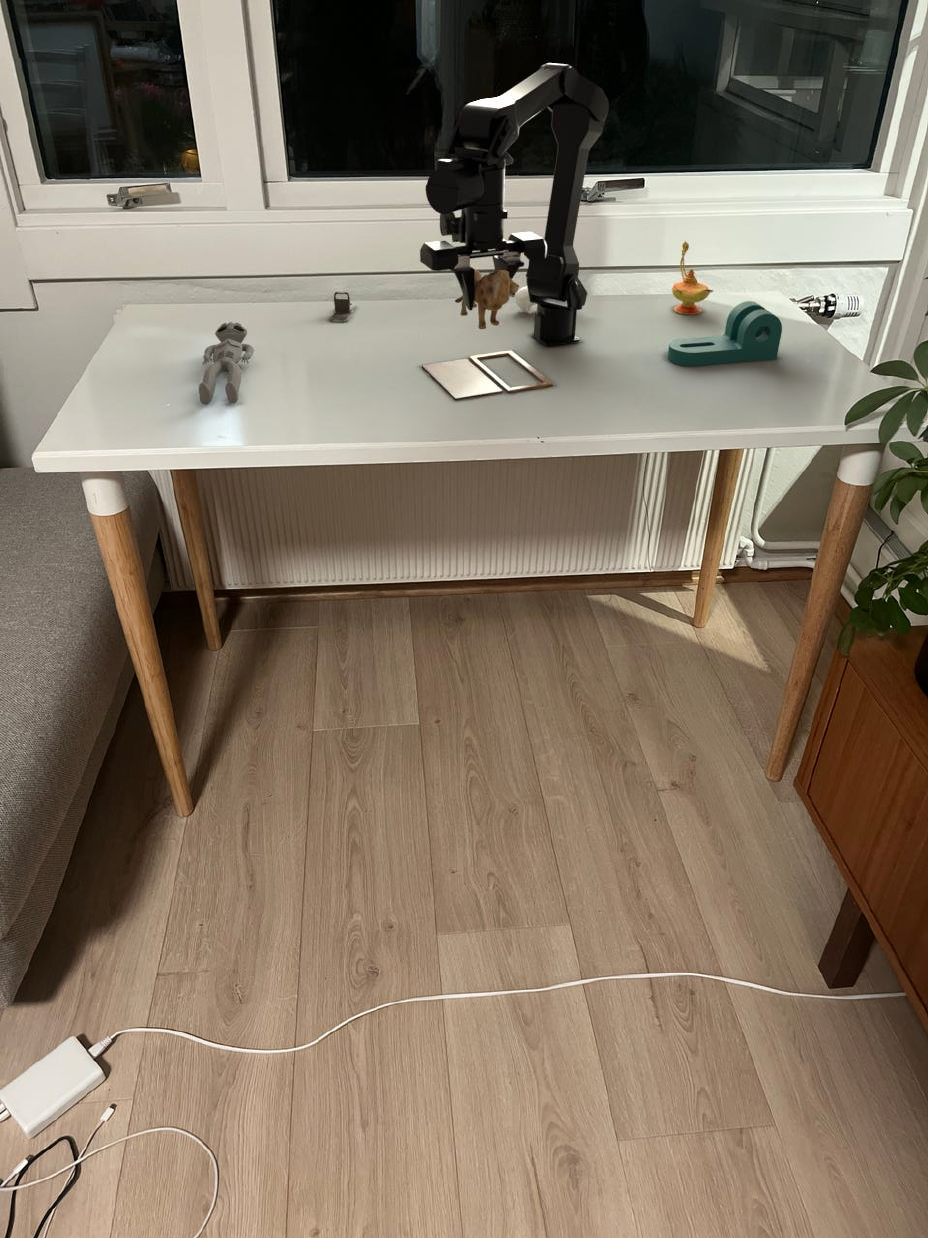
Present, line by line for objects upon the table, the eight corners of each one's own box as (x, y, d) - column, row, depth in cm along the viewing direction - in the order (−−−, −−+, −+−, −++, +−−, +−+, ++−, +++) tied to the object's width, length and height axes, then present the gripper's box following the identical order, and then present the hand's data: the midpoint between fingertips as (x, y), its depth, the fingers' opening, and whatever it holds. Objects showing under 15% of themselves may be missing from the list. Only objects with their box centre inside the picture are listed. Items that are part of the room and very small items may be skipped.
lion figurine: (521, 330, 148) (524, 271, 142) (492, 337, 145) (494, 277, 140) (468, 301, 157) (469, 245, 152) (440, 307, 155) (440, 250, 150)
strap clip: (339, 307, 185) (338, 284, 183) (355, 307, 185) (353, 284, 182) (330, 321, 178) (328, 298, 176) (346, 322, 178) (344, 299, 175)
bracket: (758, 344, 168) (766, 299, 164) (776, 358, 163) (785, 312, 158) (661, 352, 165) (667, 306, 161) (676, 367, 160) (683, 319, 155)
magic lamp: (686, 329, 175) (695, 267, 168) (659, 298, 189) (666, 240, 183) (723, 328, 175) (733, 266, 169) (693, 297, 190) (701, 239, 183)
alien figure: (187, 381, 144) (207, 319, 164) (193, 411, 147) (212, 346, 167) (242, 379, 145) (255, 318, 164) (246, 409, 148) (258, 345, 167)
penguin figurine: (580, 268, 175) (514, 275, 176) (581, 315, 180) (517, 321, 181) (576, 258, 180) (512, 265, 181) (577, 304, 185) (515, 310, 186)
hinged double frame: (511, 352, 165) (511, 349, 165) (552, 385, 153) (552, 383, 153) (420, 365, 160) (420, 363, 160) (456, 401, 148) (456, 398, 148)
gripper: (518, 185, 150) (515, 286, 159) (405, 194, 144) (409, 299, 153) (551, 200, 142) (545, 306, 151) (432, 211, 136) (434, 321, 145)
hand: (483, 307), depth 150 cm, fingers closed on lion figurine, 4 cm apart
